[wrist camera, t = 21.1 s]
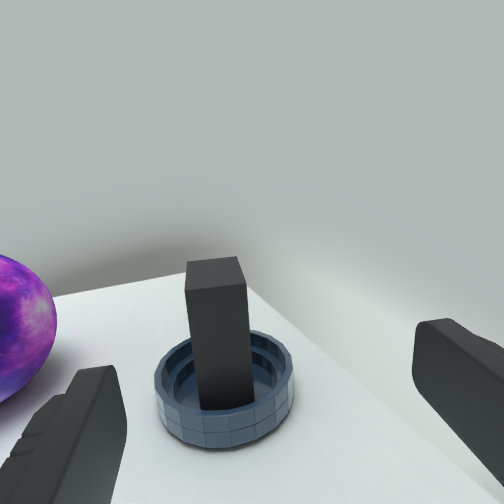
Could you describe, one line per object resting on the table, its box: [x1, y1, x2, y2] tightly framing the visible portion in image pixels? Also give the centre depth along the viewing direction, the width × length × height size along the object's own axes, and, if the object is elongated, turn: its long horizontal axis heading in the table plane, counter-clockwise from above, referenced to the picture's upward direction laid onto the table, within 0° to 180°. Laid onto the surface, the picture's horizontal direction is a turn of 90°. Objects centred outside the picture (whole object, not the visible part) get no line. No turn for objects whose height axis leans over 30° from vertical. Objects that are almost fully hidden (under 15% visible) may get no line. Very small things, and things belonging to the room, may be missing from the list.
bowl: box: [154, 330, 294, 448], centre depth 31 cm, size 12×12×4 cm
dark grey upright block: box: [185, 256, 255, 411], centre depth 29 cm, size 4×6×12 cm
